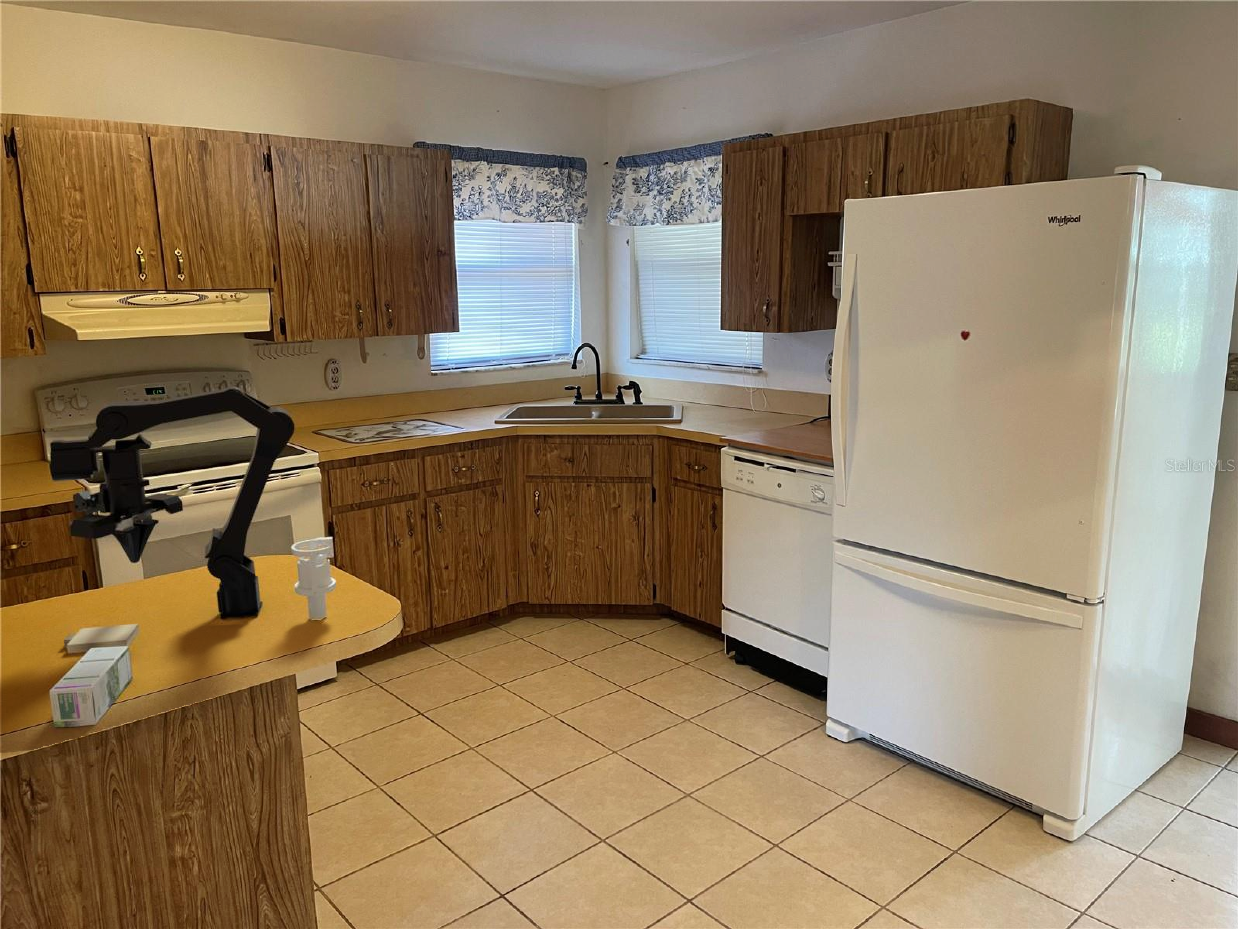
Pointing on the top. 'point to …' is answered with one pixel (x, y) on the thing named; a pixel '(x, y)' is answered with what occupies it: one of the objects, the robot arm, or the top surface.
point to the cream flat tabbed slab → (101, 637)
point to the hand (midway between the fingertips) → (134, 562)
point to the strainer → (314, 574)
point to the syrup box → (91, 686)
